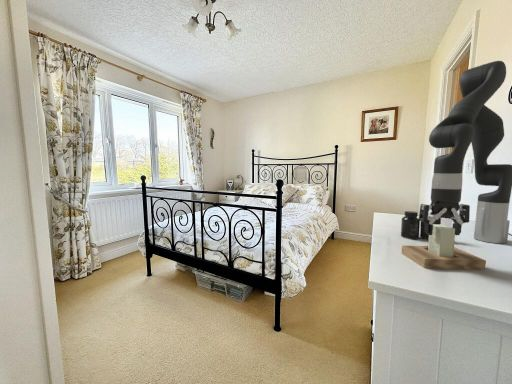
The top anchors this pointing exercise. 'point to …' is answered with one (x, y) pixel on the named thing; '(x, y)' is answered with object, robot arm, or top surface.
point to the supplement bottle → (410, 225)
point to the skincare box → (442, 240)
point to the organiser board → (443, 259)
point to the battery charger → (422, 228)
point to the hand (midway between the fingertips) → (442, 234)
